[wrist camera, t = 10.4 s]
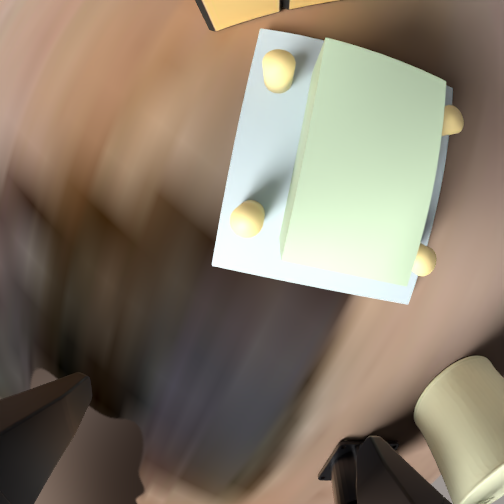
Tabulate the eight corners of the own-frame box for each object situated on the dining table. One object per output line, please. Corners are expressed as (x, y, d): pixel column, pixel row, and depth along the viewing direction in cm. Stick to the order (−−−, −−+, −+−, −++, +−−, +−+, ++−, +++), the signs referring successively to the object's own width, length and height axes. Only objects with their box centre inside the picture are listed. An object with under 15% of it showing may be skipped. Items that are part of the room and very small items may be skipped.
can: (394, 423, 22) (432, 526, 10) (457, 343, 20) (536, 435, 8) (450, 433, 22) (490, 512, 11) (505, 366, 20) (567, 436, 8)
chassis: (402, 298, 19) (426, 324, 15) (214, 261, 19) (200, 282, 15) (445, 91, 15) (477, 78, 11) (261, 35, 15) (258, 4, 11)
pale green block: (374, 258, 17) (407, 286, 12) (278, 237, 17) (281, 260, 13) (405, 101, 15) (446, 81, 10) (311, 72, 15) (325, 37, 10)
